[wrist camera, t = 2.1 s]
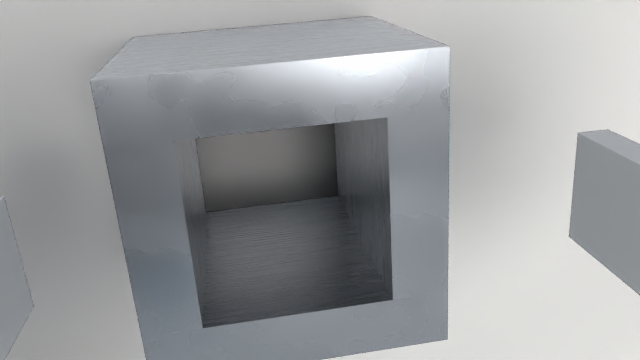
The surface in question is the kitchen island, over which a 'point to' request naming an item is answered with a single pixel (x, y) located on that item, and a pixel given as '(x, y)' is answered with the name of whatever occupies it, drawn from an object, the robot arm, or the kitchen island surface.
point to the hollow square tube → (289, 217)
